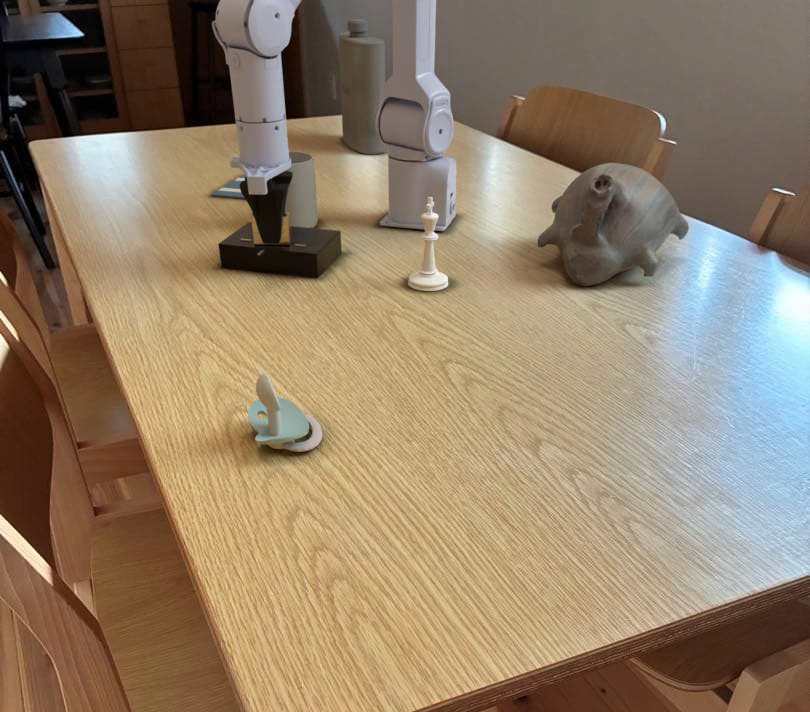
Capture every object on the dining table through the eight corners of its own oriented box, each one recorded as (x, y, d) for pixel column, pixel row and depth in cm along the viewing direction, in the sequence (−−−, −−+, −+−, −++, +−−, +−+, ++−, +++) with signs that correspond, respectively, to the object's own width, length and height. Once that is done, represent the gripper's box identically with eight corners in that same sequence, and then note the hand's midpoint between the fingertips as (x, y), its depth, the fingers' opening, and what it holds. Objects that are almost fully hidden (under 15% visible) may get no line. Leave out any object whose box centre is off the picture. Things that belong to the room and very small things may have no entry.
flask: (336, 137, 157) (330, 15, 144) (364, 135, 158) (361, 14, 146) (359, 156, 146) (355, 25, 133) (389, 153, 147) (388, 24, 135)
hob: (341, 253, 106) (340, 229, 104) (311, 285, 97) (309, 259, 95) (250, 244, 109) (247, 220, 107) (213, 274, 100) (209, 248, 98)
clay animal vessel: (638, 293, 92) (591, 174, 88) (533, 328, 105) (487, 225, 100) (705, 237, 102) (665, 127, 98) (601, 275, 115) (562, 179, 110)
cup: (316, 232, 112) (312, 164, 107) (244, 233, 112) (236, 164, 107) (320, 216, 118) (316, 151, 113) (251, 217, 118) (244, 151, 112)
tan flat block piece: (291, 241, 101) (289, 210, 98) (290, 245, 99) (287, 214, 97) (255, 240, 101) (252, 209, 98) (253, 245, 100) (250, 213, 97)
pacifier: (311, 414, 73) (246, 422, 72) (309, 350, 70) (239, 357, 68) (331, 455, 68) (260, 465, 66) (329, 389, 64) (254, 398, 63)
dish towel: (293, 180, 133) (293, 178, 133) (265, 201, 124) (264, 198, 124) (243, 176, 135) (243, 174, 135) (211, 196, 126) (211, 194, 126)
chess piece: (453, 279, 99) (457, 194, 93) (441, 293, 95) (444, 206, 89) (415, 274, 100) (416, 189, 94) (402, 288, 97) (402, 201, 90)
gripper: (236, 104, 97) (249, 220, 105) (213, 132, 86) (230, 259, 94) (294, 105, 97) (303, 220, 105) (279, 132, 86) (290, 260, 94)
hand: (272, 239), depth 100 cm, fingers closed on tan flat block piece, 2 cm apart
